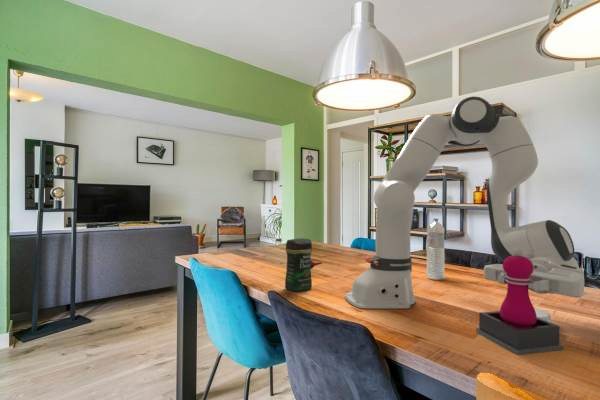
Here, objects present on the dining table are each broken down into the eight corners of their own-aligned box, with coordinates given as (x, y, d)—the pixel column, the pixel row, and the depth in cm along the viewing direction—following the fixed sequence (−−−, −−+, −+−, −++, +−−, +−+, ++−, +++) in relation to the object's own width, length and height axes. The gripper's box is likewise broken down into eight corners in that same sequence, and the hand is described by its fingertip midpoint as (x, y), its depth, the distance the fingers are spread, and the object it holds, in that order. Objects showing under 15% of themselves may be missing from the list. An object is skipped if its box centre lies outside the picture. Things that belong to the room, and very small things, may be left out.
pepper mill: (527, 343, 70) (527, 252, 70) (493, 331, 77) (493, 248, 77) (542, 336, 74) (542, 249, 74) (509, 325, 80) (509, 246, 80)
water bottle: (446, 280, 130) (446, 219, 130) (428, 280, 131) (429, 219, 131) (441, 276, 136) (442, 218, 136) (425, 276, 138) (425, 218, 137)
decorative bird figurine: (294, 270, 148) (294, 248, 148) (324, 276, 136) (324, 253, 136) (289, 271, 146) (289, 249, 146) (320, 278, 134) (320, 254, 134)
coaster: (497, 319, 89) (497, 307, 89) (519, 314, 93) (520, 302, 93) (536, 333, 79) (536, 319, 79) (559, 327, 84) (559, 314, 84)
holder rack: (517, 354, 68) (517, 331, 68) (476, 331, 80) (476, 311, 80) (563, 349, 71) (563, 327, 71) (516, 328, 82) (516, 308, 82)
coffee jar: (294, 293, 112) (294, 240, 112) (281, 288, 118) (281, 238, 118) (315, 289, 118) (315, 238, 118) (302, 284, 124) (302, 236, 124)
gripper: (497, 256, 91) (471, 262, 83) (592, 270, 74) (570, 278, 66) (497, 279, 91) (471, 286, 83) (592, 297, 74) (570, 309, 66)
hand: (516, 283), depth 75 cm, fingers closed on pepper mill, 5 cm apart
